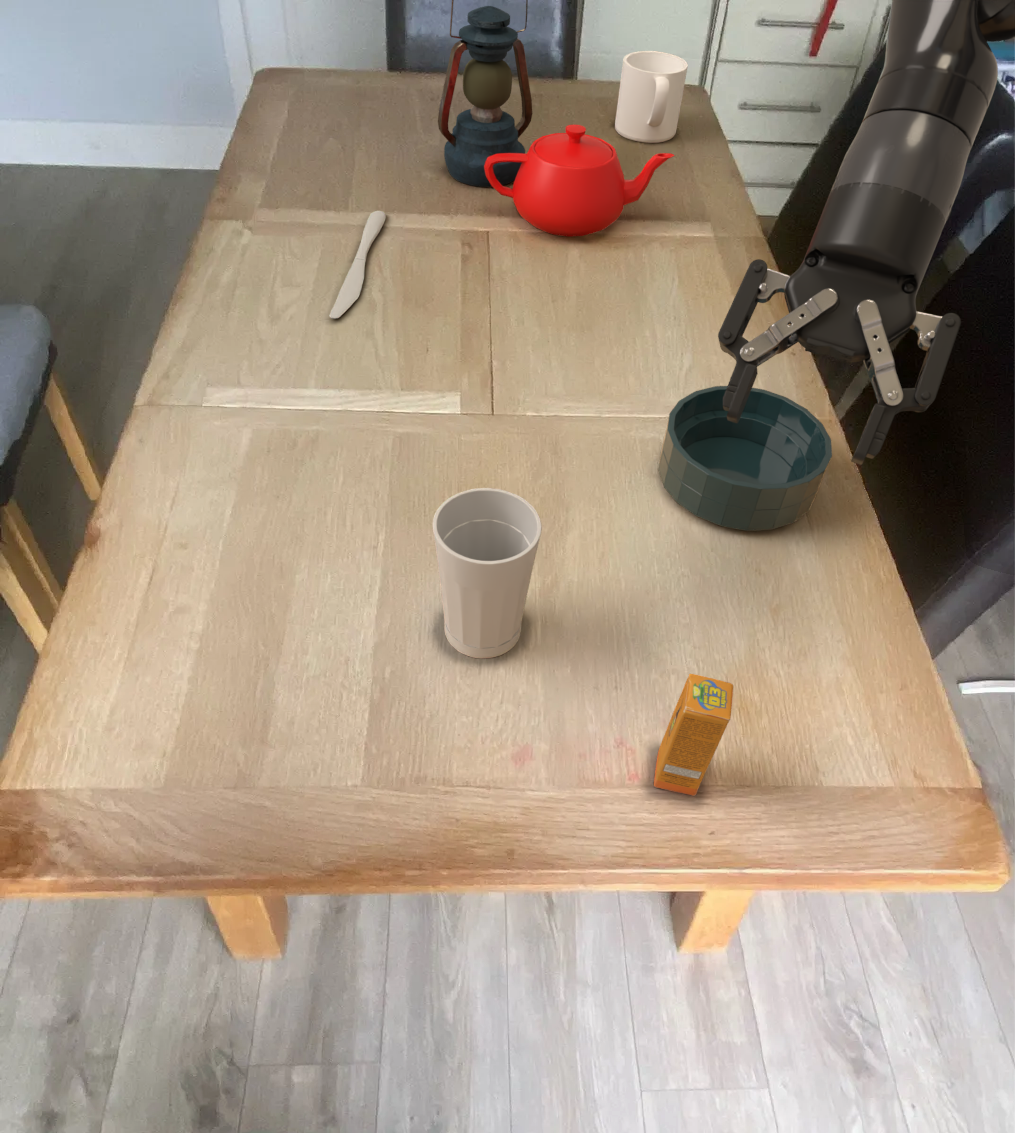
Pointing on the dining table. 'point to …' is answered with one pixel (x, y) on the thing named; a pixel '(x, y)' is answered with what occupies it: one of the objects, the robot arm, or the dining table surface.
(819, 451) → the bowl
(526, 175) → the teapot
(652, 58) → the mug
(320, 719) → the dining table surface
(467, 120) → the lantern
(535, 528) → the cup
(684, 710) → the supplement box
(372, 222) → the butter knife
